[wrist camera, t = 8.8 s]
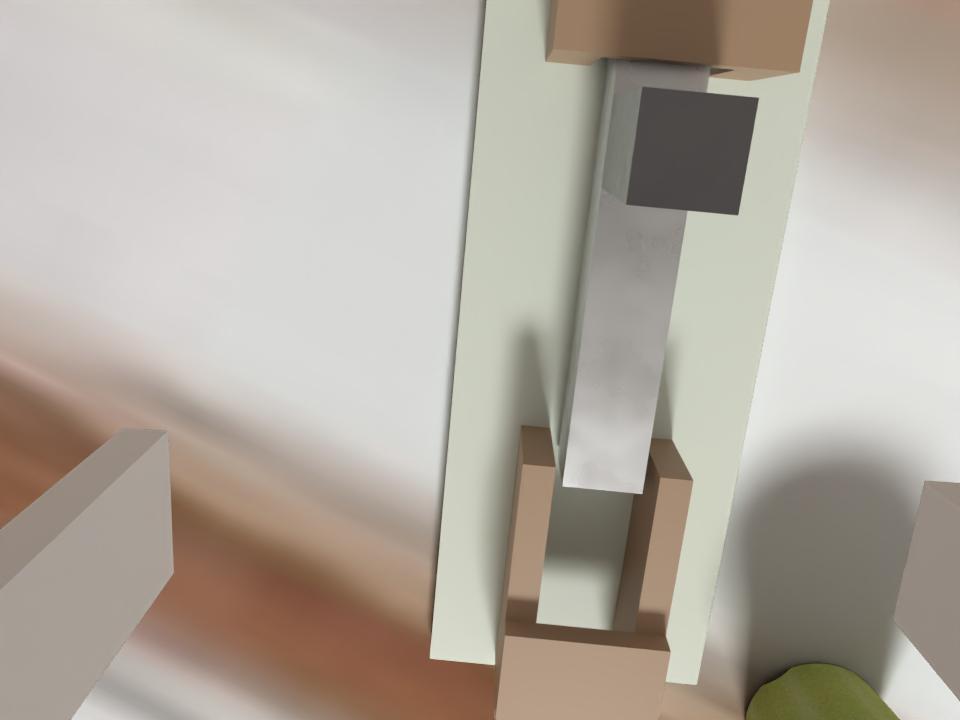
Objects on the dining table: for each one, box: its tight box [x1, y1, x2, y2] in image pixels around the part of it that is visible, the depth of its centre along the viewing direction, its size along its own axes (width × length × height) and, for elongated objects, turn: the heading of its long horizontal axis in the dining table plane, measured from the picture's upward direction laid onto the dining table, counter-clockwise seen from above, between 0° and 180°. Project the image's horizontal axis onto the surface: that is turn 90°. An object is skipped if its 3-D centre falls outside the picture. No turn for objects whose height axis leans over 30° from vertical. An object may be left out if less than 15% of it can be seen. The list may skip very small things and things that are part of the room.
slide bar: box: [558, 58, 759, 494], centre depth 27 cm, size 3×17×9 cm, turn 175°
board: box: [430, 0, 830, 720], centre depth 31 cm, size 12×30×6 cm, turn 175°
